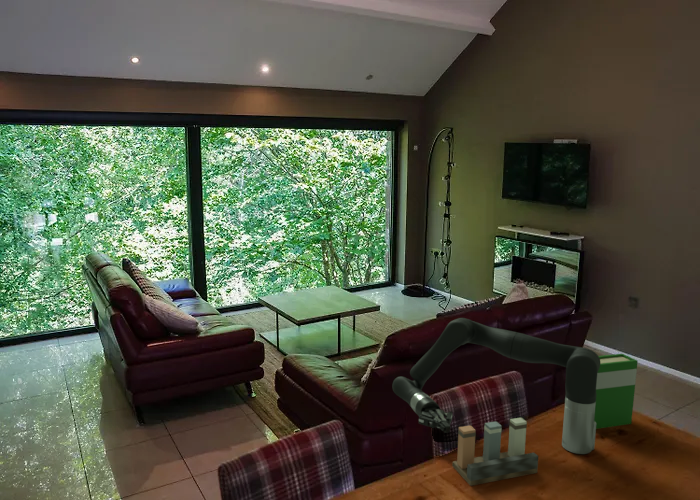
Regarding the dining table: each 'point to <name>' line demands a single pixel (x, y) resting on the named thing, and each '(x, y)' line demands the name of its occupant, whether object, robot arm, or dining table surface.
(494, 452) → the slate key
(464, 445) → the tan tall block
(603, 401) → the hardback book
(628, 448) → the dining table surface
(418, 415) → the robot arm
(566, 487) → the dining table surface
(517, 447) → the white tall block
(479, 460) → the dark grey block stand
